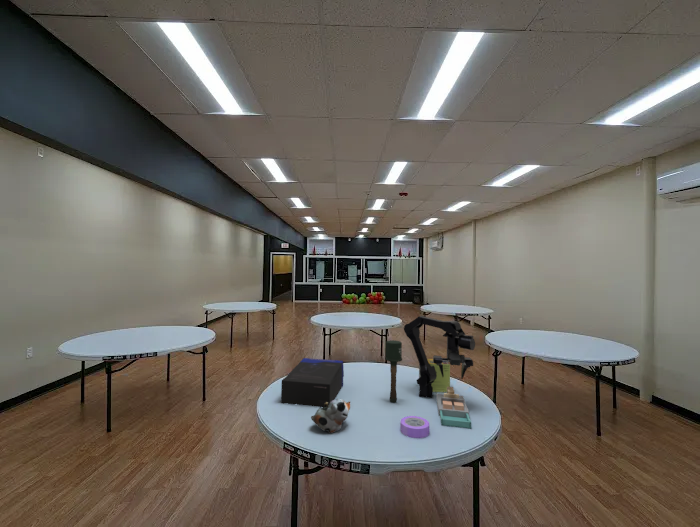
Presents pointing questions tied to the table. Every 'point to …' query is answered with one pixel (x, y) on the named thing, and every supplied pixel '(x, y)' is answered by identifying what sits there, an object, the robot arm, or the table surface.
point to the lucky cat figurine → (332, 415)
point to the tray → (455, 421)
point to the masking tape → (414, 427)
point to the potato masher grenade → (393, 364)
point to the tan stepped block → (451, 396)
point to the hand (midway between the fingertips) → (452, 377)
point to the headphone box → (313, 382)
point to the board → (452, 411)
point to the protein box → (440, 377)
